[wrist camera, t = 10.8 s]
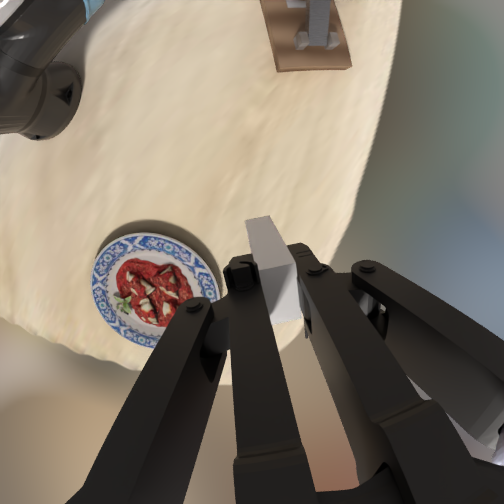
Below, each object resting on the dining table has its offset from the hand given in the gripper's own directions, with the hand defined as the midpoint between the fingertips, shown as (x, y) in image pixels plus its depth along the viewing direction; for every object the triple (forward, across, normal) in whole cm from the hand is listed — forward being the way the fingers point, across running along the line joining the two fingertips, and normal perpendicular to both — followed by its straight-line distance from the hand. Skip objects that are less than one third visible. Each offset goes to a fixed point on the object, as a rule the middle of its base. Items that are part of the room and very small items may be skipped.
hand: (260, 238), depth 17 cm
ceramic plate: (+29, -20, -18) cm, 39 cm away
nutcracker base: (+28, +15, +25) cm, 41 cm away
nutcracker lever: (+24, +15, +20) cm, 35 cm away
